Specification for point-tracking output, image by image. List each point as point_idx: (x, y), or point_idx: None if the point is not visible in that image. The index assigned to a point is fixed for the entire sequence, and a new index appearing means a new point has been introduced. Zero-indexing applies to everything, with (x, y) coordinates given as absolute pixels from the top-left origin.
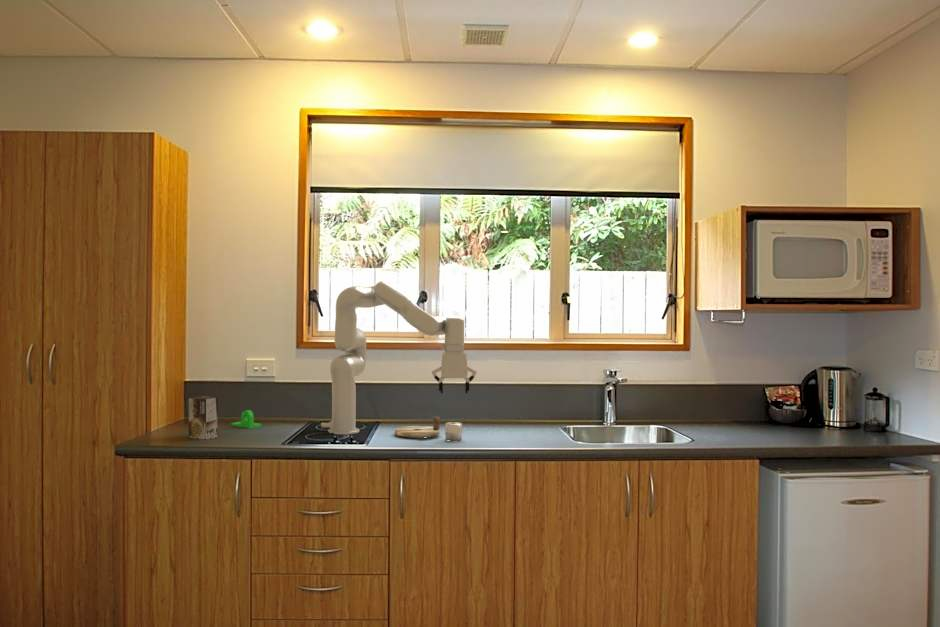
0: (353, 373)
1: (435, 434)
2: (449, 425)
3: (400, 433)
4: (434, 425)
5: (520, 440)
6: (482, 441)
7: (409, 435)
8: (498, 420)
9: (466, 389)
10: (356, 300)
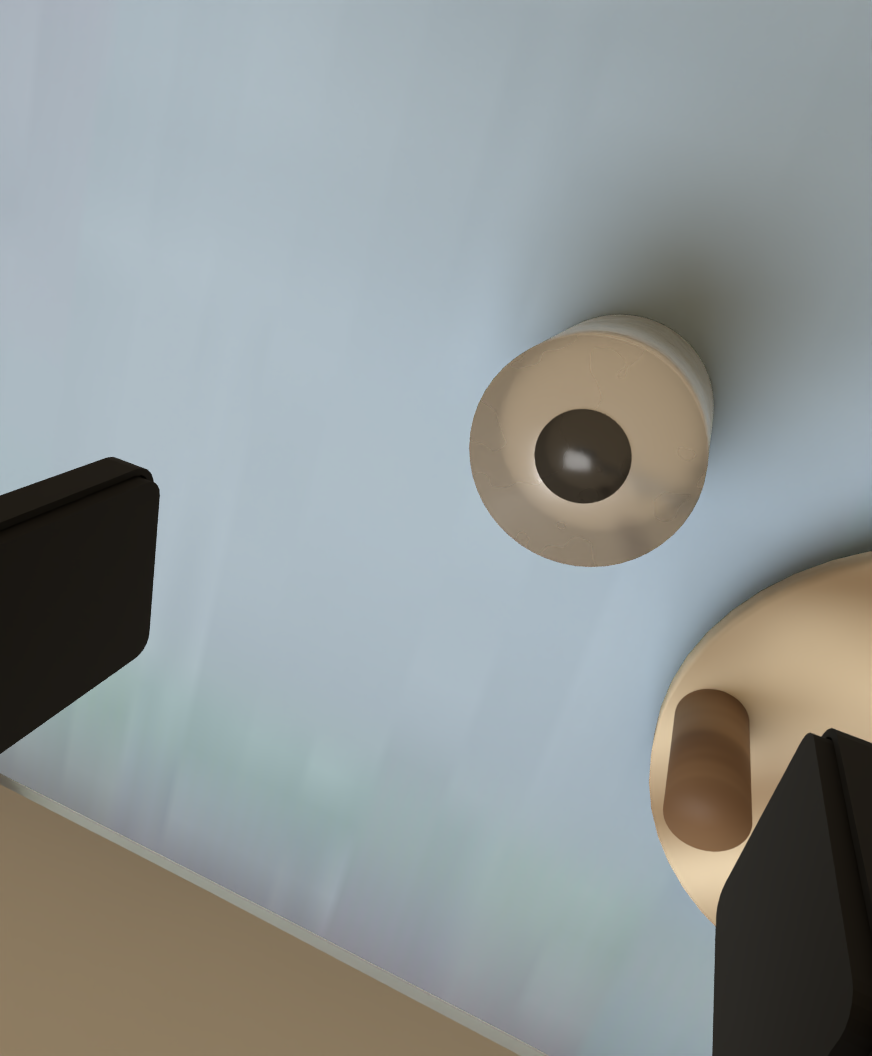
0: None
1: (782, 585)
2: (681, 378)
3: None
4: (745, 739)
5: (17, 196)
6: (346, 239)
7: None
8: None
9: (69, 492)
10: None
